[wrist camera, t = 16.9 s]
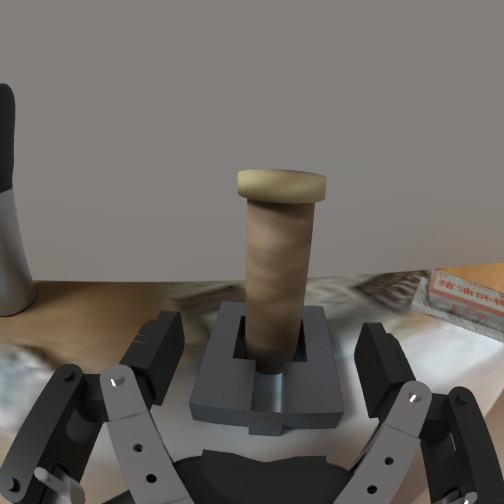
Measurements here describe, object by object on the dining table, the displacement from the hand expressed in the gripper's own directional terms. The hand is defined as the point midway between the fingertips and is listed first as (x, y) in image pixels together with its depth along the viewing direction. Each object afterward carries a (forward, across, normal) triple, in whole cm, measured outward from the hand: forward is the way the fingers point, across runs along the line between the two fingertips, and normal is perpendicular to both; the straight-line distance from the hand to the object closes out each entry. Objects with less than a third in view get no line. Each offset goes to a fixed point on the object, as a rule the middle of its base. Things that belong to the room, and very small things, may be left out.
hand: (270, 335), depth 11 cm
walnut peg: (+11, 0, +12) cm, 16 cm away
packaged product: (+18, -30, +13) cm, 38 cm away
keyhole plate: (+9, 0, +12) cm, 15 cm away
